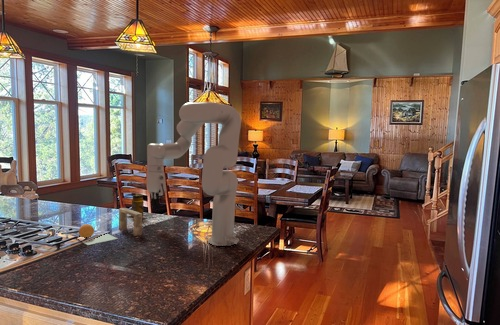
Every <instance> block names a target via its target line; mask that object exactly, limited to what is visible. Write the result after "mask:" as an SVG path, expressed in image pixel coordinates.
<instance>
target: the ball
mask: <svg viewBox="0 0 500 325" xmlns="http://www.w3.org/2000/svg"><path fill="white" fill-rule="evenodd" d="M94 232H95V229H94V226H93V225H91V224H90V223H89V224H88V223H86V224H83V225H81V226H79V229H78V235H79V236H81V237H84V238H86V237H87V238H89V237H91V236H92V235H93V234H95V233H94Z"/></svg>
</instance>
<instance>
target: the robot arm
mask: <svg viewBox="0 0 500 325" xmlns="http://www.w3.org/2000/svg"><path fill="white" fill-rule="evenodd" d="M178 115H179V118H180V121H179V122H178V123H177V124H176V131H177V133H178V134H179V135H180V137H179V138H178V139H177V141H176V142H173V143H172V142H171V143H168V142H167V143H166V142H165V143H156V142H155V143H154V142H153V143H149V144H148V145H147V146H146V147H147V149H146V151H147V152H146V153H147V156H146V158H147V164H146V165H147V166H146V167H147V169H146V170H147V171H146V172H147V174H146V190H147V191H148V194H150V198H151V207H153V208H155V207H156V208H157V207H160V199H161V196H163V195H164V193H166V190H167V186H166V176H165V175H166V174H165V172H164V161H165V160H174V159H175V160H176V159H180V158H181V157H182V156H184V154H185V153H187V151H188V150H189V149H190V147H191V145H192V142H193V137H194V135H195V134H196V133H197V132H198V131H199V130H200V129H201V127H203V125H204V124H217V125H220V124H221V125H222V127H221V129H220V131H219V134H218V143H217V145H212V146H210V147H209V148H208V149H207V150H206V151H205V153H204V155H203V161H202V172H201V188H202V190H203V192H204V193H205V194H206V195H207V196H213V199H212V200H213V201H212V215H211V216H212V220H211V222H212V223H211V237H210V238H208V240H207V243H208V244H209V243H210V244H212V245H222V246H223V245H231V243H232V244H236V245H237V244H238V242H240V239H239V238H238V237H236V233H235V212H236V211H235V210H236V209H235V208H236V197H237V196H236V195H237V191H238V186H239V185H238V184H239V179H238V176H237V175H236V173H235V172H234V171H231V170H227V168H232V167H234V166H235V165H236V164H237V160H238V155H239V153H238V152H239V143H240V142H239V141H240V134H241V133H240V132H241V126H242V118H241V115H240V112H239V111H238V110H237V109H236V108H235V107H233V106H232V105H229V104H226V103H225V104H224V103H219V102H218V103H217V102H211V101H210V102H209V101H208V102H207V101H205V102H204V101H203V102H186V103H184V104H183V105H182V106H181V107H180V109H179V112H178ZM225 169H226V170H225ZM210 244H209V245H210ZM212 245H211V246H212Z"/></svg>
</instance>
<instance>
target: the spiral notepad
mask: <svg viewBox="0 0 500 325" xmlns="http://www.w3.org/2000/svg"><path fill="white" fill-rule="evenodd" d="M118 239H119V238H118V237H115V236H113V235H112V234H109V233H107V234H105V235H102V236H100V237H98V238H95V239H92V240H90V241H87V242H83V244H84V245H86V246H91V245H95V244H100V243H107V242H109V241H110V242H111V241H115V240H118Z"/></svg>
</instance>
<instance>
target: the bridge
mask: <svg viewBox="0 0 500 325" xmlns="http://www.w3.org/2000/svg"><path fill="white" fill-rule="evenodd" d="M127 216H134V219H133V230H132V231H133V234H132V235H133V236H135V237H136V236H142V234H143V232H142V231H143V218H142V213H139V212H136V211H133V210H132V209H129V208H127V207H121V208H118V229H119V230H125V229H127V228H128V218H127Z"/></svg>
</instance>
